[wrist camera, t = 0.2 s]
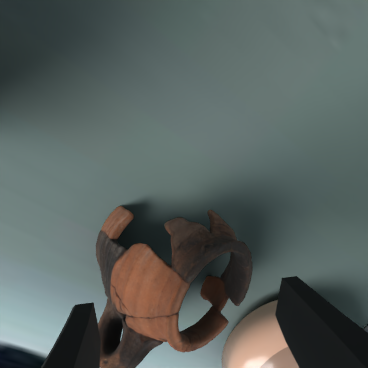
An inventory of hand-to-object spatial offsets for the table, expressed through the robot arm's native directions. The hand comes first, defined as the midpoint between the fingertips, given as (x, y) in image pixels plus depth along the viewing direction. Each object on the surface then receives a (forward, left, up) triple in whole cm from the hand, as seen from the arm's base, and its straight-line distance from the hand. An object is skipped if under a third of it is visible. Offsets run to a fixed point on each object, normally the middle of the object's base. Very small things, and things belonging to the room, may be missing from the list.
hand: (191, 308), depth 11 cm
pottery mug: (-4, -2, -11) cm, 12 cm away
